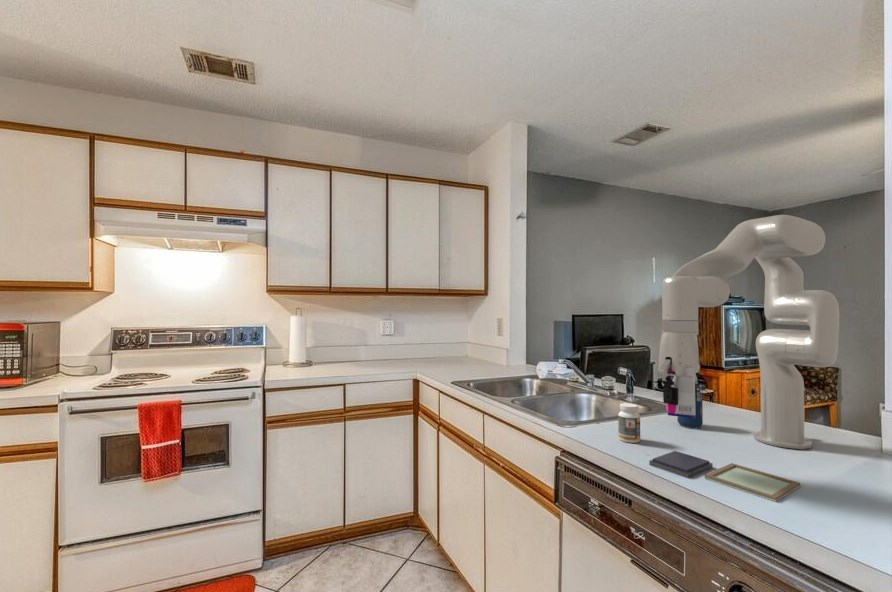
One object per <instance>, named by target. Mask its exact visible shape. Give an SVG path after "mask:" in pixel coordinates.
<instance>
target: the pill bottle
mask: <svg viewBox="0 0 892 592" xmlns="http://www.w3.org/2000/svg"><path fill="white" fill-rule="evenodd" d="M619 409H620V411H619V412H618V419H617V420H618V422H617V425H618V429H617V430H618V432H617V433H618V439H619V440H620V441H621V442H625V443H629V444H630V443H633V444H636V443H639V442H640V441H641V415H640V413H639V412H638V411H639V406H638V405H637V404H635V403H628V402H626V403H625V402H624V403H620V404H619Z"/></svg>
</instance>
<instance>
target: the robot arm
mask: <svg viewBox="0 0 892 592" xmlns="http://www.w3.org/2000/svg"><path fill="white" fill-rule="evenodd" d="M825 244H826V234H825V231H824V229H823V228H822V227H821V226H820V225H819V224H817V223H815V222H814V221H810V220H808V219H804V218H801V217H799V216H795V215H794V216H793V215H789V214H777V215H771V216H766V217H765V216H764V217H759V218H758V217H757V218H752V219H748V220H745V221H742V222H740V223H739V224H737V225H736V226H735V227H734V228H733V229H732V230H731V231H730V232H729V234H727V236H726V237H725V238H724V239H723V240H722V241H721V242H720V243H719V244H718V245H717V246H716V248H714V249H713V250H709V251H708V252H706V253H704V254H701V255H700V256H698V257H696V258H695V259H692V260H690V261H689V262H687V263H685V264H683V266H681V267H680V268H678V269H677V271H675V273H674V274H672V276H667V277H664V278H663V280H662V285H661V287H662V288H661V289H662V292H661V293H662V295H661V296H662V298H661V301H662V303H661V306H662V307H661V308H662V309H661V310H662V314H661V316H662V318H661V319H662V320H661V322H662V323H661V326H662V330H661V331H662V334H661V337H660V342H659V350H658V351H659V354H658V374H659V377H660V381H661V385H662V387H663V389H662V393H663V394H662V396H663V397H662V398H663V399H662V401H663V403H664V404H671V405H678V388H676V385H677V382H678V379H679V377H682V376H685V371H686V368H687V367H693V368H695V401H696V400H697V388H698V382H699V381H698V377H699V375H700V370H701V365H700V357H699V356H700V355H699V351H700V350H699V343H698V342H699V340H698V335H699V308H714V307H719V306H721V305H723V304H725V303H726V302H727V301H728V300H729V297H730V293H731V289H730V286H729V284H728V283H727V280H724V278H728V277H732V276H734V275H736V274H737V275H738V274H740V273H741V272H743V271H745V270H746V269H747V267H749V266H750V264H751V263H753V260H754V259H755V260H756V261H757V262H758V264H759V265H760V267H761V269H762V271H763V273H764V279H765V280H764V301H763V303H764V306H763V308H764V309H763V311H764V313H763V314H764V317H765V318H766V320H767V321H768V322H770V323H774V324H776V325H777V324H778V325H790V326H791V325H794V326H795V325H796V326H797V325H798V326H809V329H810V330H808V329H807V330H803V329H793V328H791V329H789V328H770V329H769V328H768V329H765V330H762V331H761V332H760V333H759V334H758V335H757V337H756V339H755V349H756V354H757V358H758V364H759V372H760V373H759V374H760V377H759V378H760V382H759V383H760V384H759V385H760V431H755V432H754V434H753V436H754V439H755V440H757V441H759V442H761V443H763V444H766V445H769V446H770V445H771V446H775V447H779V448H786V449H791V450H792V449H793V450H807V449H811V448H812V447H813V442H812V441H811V440H810V439H808V438H805V384H804V379H803V376H802V375H801V372H800V371H799V370H798V369H797V367H796V366H803V367H813V368H814V367H815V368H828V367H829V368H830V366H831V367H832V366H833V365H834V364H835V362H836V360H837V359H838V355H839V354H838V352H839V336H840V335H839V334H840V306H839V302H838V300H837V298H836V297H835V295H834V294H833V293H831V292H829V291H828V290H821V289H809V290H808V289H804V279H805V278H804V272H803V270H802V268H801V267H800V266H799V264H797V262H796V261H795V260H793V259H792V258H794V257H808V256H813V255H816V254H818V253H819V252H821V251H823V249H824V246H825ZM795 365H796V366H795ZM670 367H671V368H672V371H673V372H675V374H671V373H668V370H669V369H670ZM670 377H671V378H673V381H672V380H671V378H670Z"/></svg>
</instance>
